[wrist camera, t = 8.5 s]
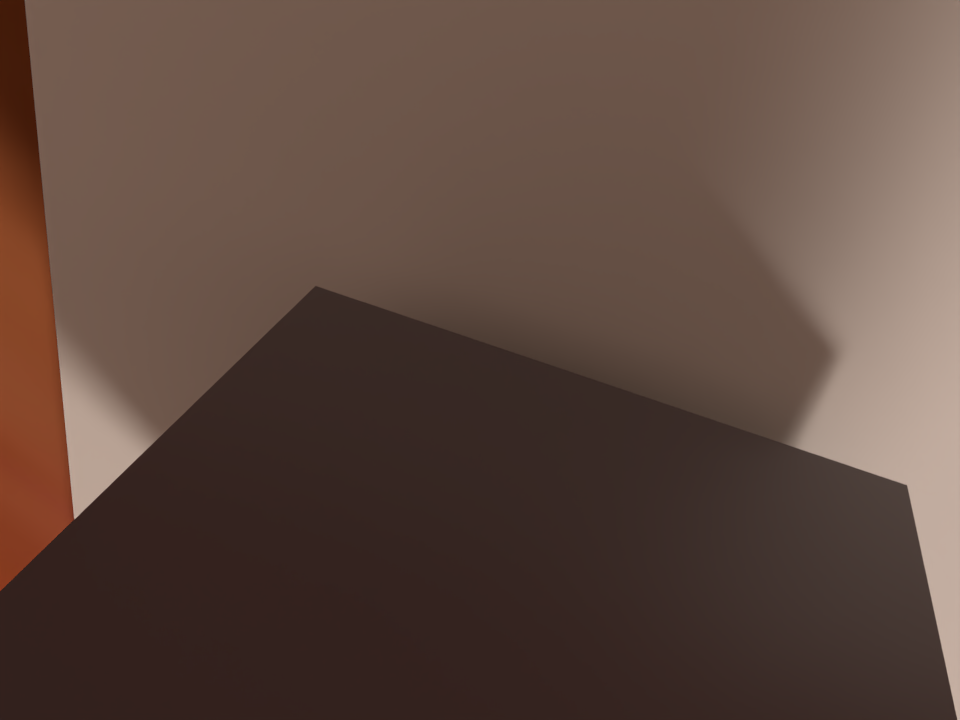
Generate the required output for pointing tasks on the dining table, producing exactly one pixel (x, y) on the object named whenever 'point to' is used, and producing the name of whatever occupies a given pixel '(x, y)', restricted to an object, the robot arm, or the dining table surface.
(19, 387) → the dining table surface
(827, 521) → the grey box housing
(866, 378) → the base plate
